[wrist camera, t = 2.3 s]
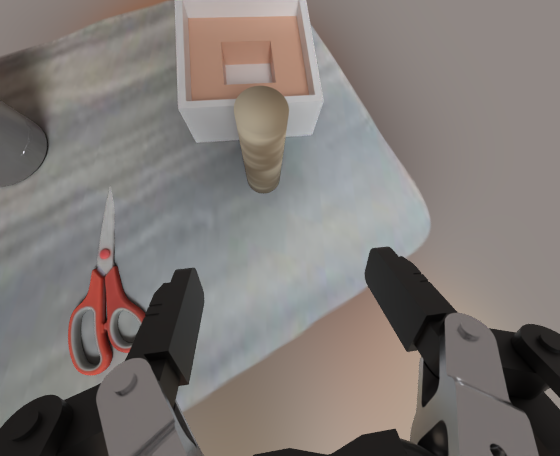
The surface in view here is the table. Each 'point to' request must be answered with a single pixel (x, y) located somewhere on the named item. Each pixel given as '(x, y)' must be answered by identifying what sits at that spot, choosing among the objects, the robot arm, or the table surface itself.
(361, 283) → the table surface
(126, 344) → the scissors
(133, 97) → the table surface
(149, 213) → the table surface
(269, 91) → the peg
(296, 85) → the box
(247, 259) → the table surface
